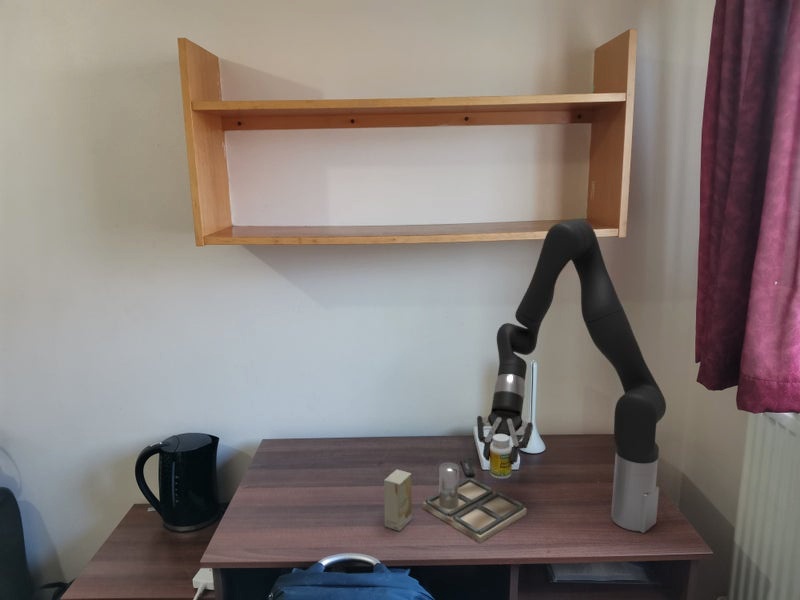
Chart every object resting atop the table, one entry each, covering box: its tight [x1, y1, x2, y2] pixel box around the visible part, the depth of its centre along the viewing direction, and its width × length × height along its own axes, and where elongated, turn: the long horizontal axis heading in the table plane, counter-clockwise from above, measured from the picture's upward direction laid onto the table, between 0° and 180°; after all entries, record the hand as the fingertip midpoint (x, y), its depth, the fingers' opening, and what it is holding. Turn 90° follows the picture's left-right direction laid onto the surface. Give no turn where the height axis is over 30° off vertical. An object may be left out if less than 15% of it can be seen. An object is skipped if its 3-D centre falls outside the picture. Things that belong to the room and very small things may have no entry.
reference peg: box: [438, 462, 460, 509], centre depth 146 cm, size 5×5×10 cm
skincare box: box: [383, 468, 413, 532], centre depth 141 cm, size 6×4×12 cm
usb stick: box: [459, 457, 476, 479], centre depth 166 cm, size 10×3×2 cm, turn 4°
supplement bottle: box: [489, 434, 513, 479], centre depth 142 cm, size 5×5×10 cm
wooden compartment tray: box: [422, 477, 527, 544], centre depth 146 cm, size 19×17×2 cm
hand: (499, 461), depth 140 cm, fingers closed on supplement bottle, 5 cm apart
